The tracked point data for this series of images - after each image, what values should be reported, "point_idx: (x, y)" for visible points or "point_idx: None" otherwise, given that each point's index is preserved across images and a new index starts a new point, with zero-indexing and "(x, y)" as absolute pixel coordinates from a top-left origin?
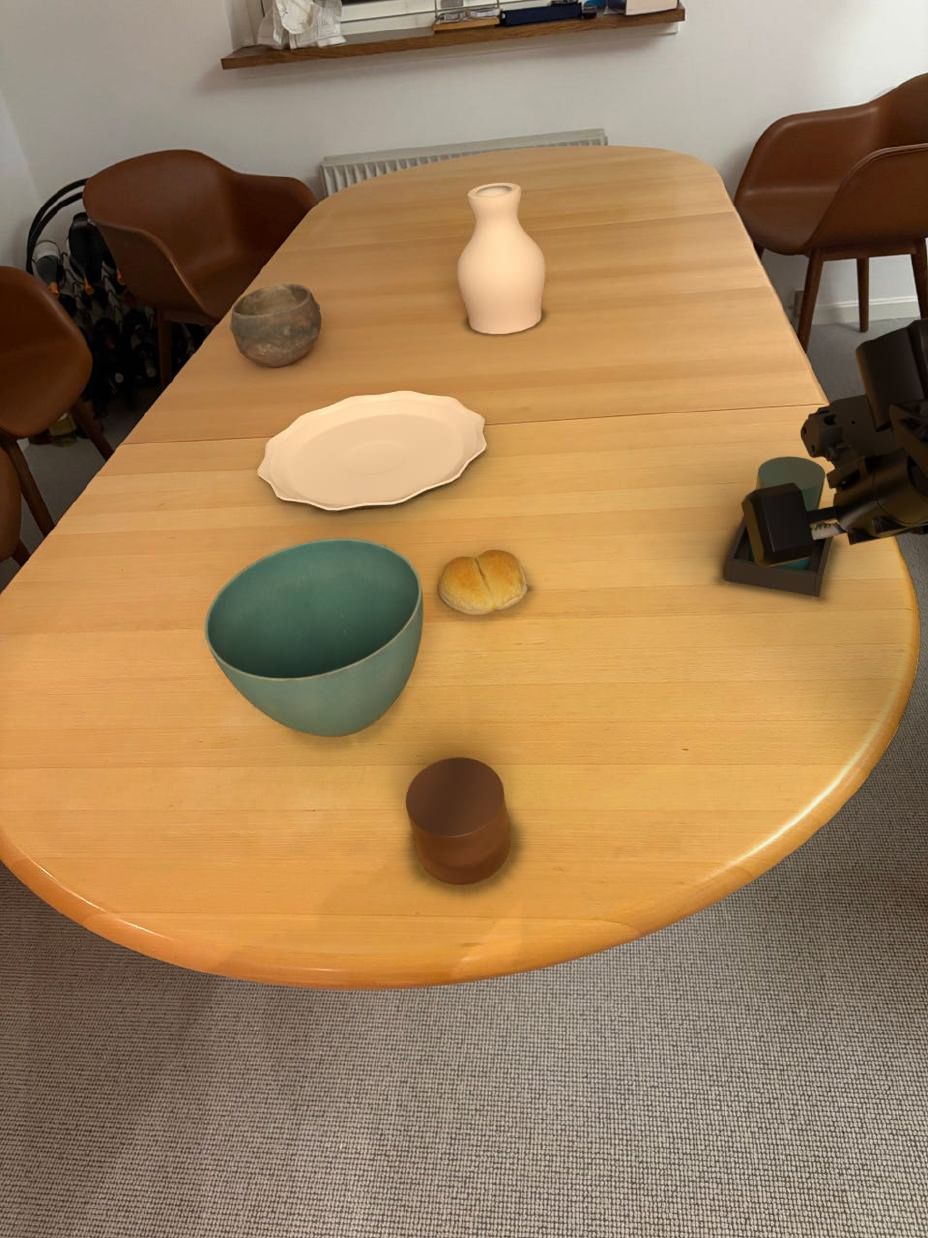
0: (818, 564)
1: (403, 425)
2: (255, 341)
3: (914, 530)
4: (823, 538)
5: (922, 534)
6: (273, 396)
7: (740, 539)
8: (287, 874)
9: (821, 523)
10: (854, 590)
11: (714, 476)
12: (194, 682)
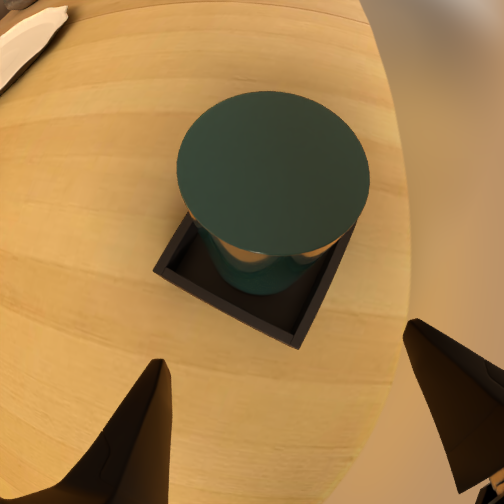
0: (314, 276)
1: (33, 33)
2: (7, 2)
3: (458, 476)
4: None
5: (459, 493)
6: (7, 28)
7: None
8: None
9: None
10: (345, 337)
11: (236, 68)
12: None
